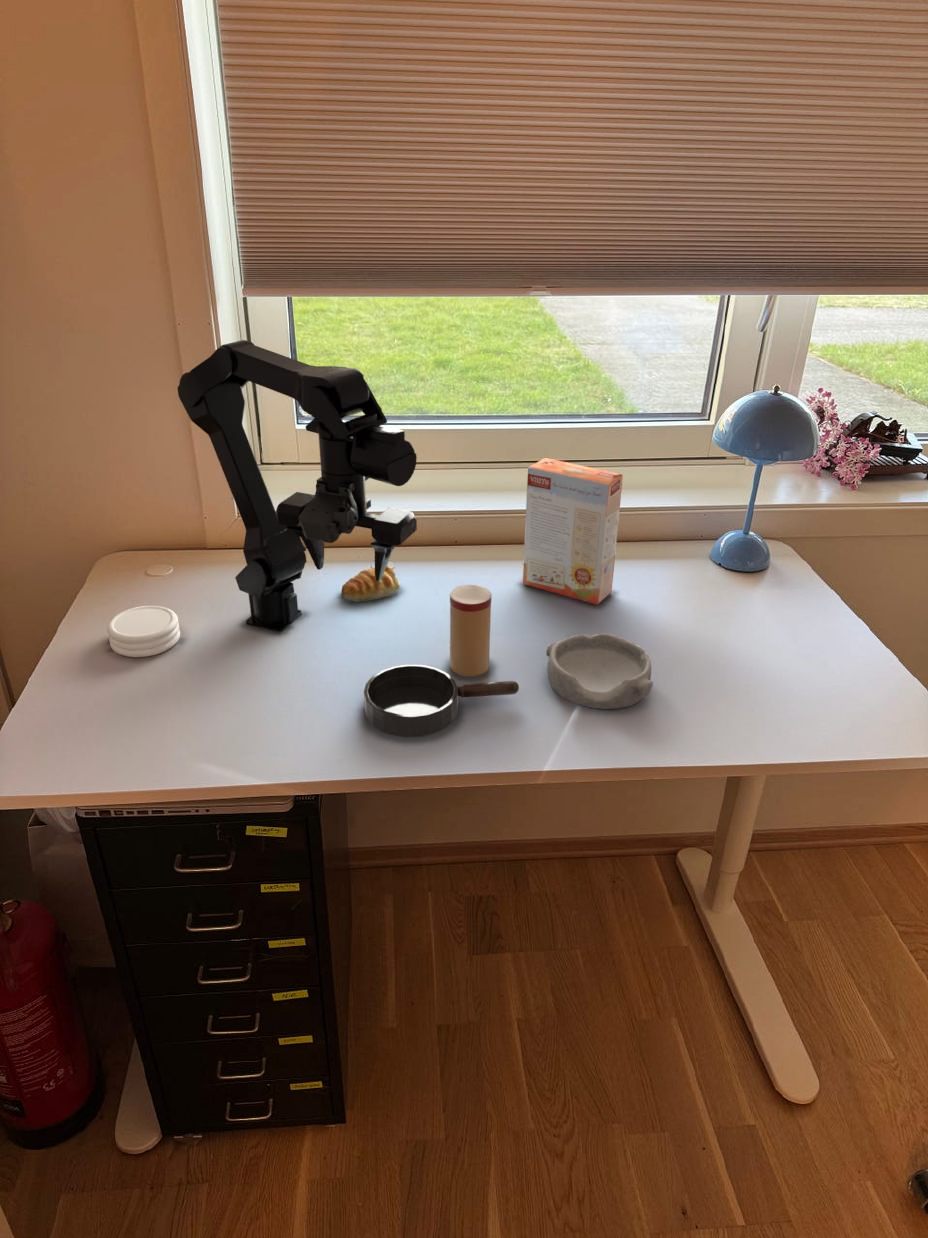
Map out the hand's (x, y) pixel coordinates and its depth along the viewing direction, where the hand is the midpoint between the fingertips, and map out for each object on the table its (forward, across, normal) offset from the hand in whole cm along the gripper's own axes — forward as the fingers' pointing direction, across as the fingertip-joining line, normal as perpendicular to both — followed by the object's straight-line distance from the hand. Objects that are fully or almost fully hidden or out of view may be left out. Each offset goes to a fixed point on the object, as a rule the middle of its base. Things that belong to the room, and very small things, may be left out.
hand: (349, 574), depth 129 cm
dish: (+13, +35, +6) cm, 38 cm away
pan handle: (+11, +23, -5) cm, 26 cm away
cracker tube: (+13, +17, +3) cm, 22 cm away
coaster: (+13, -30, -9) cm, 34 cm away
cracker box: (+13, +23, +32) cm, 42 cm away
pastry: (+13, -6, +18) cm, 23 cm away
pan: (+13, +14, -10) cm, 22 cm away
